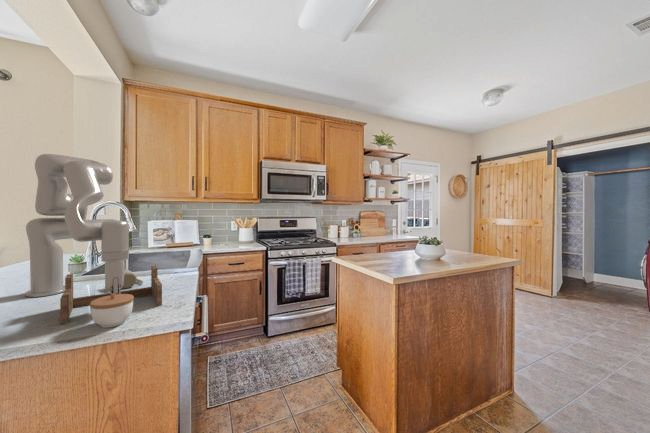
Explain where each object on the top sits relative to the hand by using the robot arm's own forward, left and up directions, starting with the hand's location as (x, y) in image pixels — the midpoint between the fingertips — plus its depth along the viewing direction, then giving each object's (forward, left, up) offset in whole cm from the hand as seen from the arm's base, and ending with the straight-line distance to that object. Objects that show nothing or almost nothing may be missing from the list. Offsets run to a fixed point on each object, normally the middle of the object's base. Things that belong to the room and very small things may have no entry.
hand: (115, 307), depth 93 cm
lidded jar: (+12, -1, -2) cm, 12 cm away
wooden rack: (-5, 0, -1) cm, 5 cm away
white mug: (-33, +5, -2) cm, 33 cm away
